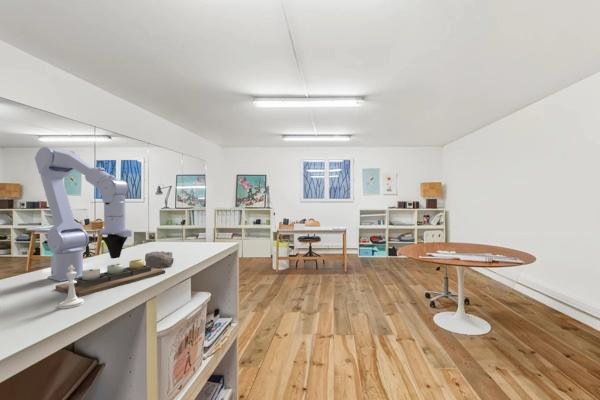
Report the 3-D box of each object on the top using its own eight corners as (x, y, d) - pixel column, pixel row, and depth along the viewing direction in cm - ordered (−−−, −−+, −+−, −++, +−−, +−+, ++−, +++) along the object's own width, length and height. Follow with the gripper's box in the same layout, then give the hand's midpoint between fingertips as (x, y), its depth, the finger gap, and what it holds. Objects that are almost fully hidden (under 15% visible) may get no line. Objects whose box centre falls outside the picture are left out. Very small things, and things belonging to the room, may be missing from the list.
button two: (104, 273, 88) (104, 265, 88) (118, 270, 92) (118, 262, 92) (112, 275, 86) (112, 266, 86) (126, 271, 90) (126, 263, 90)
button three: (126, 268, 95) (126, 261, 95) (138, 265, 98) (138, 258, 98) (134, 269, 93) (134, 262, 93) (146, 267, 96) (146, 259, 96)
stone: (174, 266, 107) (174, 252, 107) (145, 270, 102) (145, 255, 102) (172, 262, 114) (171, 248, 114) (144, 266, 109) (144, 251, 109)
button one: (78, 279, 82) (78, 270, 82) (95, 275, 86) (95, 267, 86) (86, 281, 80) (86, 272, 80) (103, 277, 84) (103, 268, 84)
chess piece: (69, 309, 66) (69, 268, 66) (53, 307, 67) (52, 267, 67) (89, 301, 71) (88, 263, 71) (73, 300, 72) (73, 262, 72)
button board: (55, 289, 81) (55, 280, 81) (141, 268, 104) (140, 261, 104) (80, 296, 75) (80, 286, 74) (165, 273, 98) (165, 265, 98)
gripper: (89, 216, 89) (89, 258, 89) (114, 217, 82) (115, 262, 82) (112, 215, 95) (112, 254, 95) (137, 216, 89) (138, 258, 89)
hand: (115, 257), depth 89 cm, fingers closed
